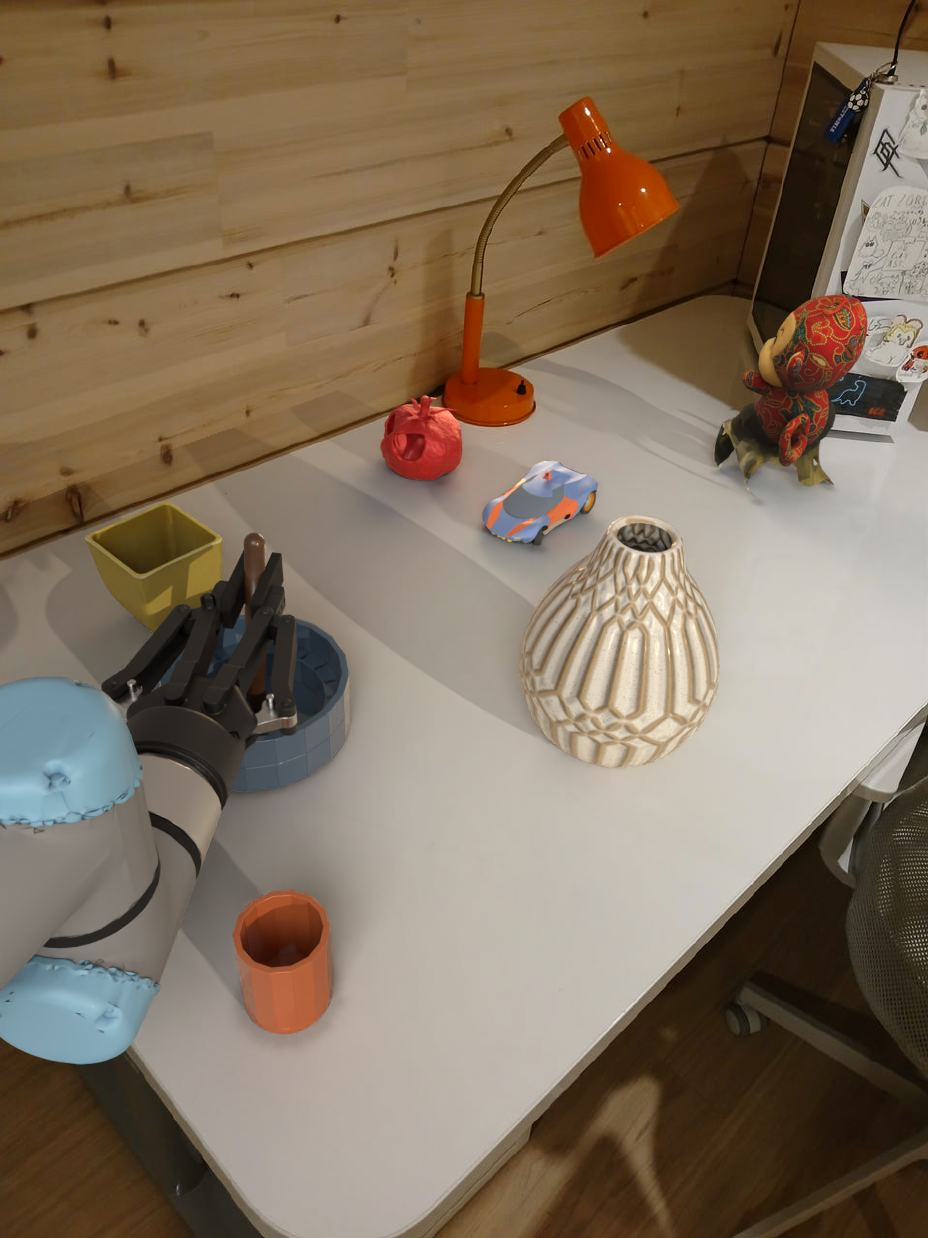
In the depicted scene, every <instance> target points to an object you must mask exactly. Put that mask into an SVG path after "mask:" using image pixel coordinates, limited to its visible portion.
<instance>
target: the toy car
mask: <svg viewBox="0 0 928 1238" xmlns="http://www.w3.org/2000/svg"><path fill="white" fill-rule="evenodd" d="M598 484H599V482H598V481H597V480H596V479H595V478H594V477H592V476H591V475H590V474H589V473H582V472H580V471H576V470H574V469H572V468H569V467H567V466H565V465H563V464H562V463H561V462H560V461H557V460H556V461H555V460H543V461H541V462H538V463H535V464H533V465H532V466H531V467H530V468H529V470H528V472H527V473H526V474H525V475H524V476H523V478H521V479H520V481H519V482H518V483H516V484H515V485H514V486H513V487H512V488H510V489H508V491H507V492H505V493H503V495H500V496H499V497H497V498H494V499H492V500H491V501H489V502H488V503H487V504H486V505H485V506H484V508H483V510H482V513H481V516H482V521H483V523H484V524H485V527H486V528H487V529H488V531H489V532H490V533H491V534H492V535H494V536H496V537H497V538H501V539H502V540H506V541H507V542H508V543H523V544H529V543H530V542H532V541H533V542H532V543H533V546H537V547H538V546H539V547H540V546H541V545H542V539H543V534H544V536H546V535H547V534H548V533H549V532H551V531H552V530H553V529H554V528H556V527H557V526H560V525H562V524H563V523H565V522H568V521H570V520H571V519H573V518H574V517H575V516H576V515H577V514H579V513H581V514H582V515H583V514H584V515H587V514H589V513H590V512H591V511H592V509H593V507H594V505H595V503H596V500H597V492H598V486H599V485H598Z"/></svg>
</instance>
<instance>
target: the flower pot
mask: <svg viewBox="0 0 928 1238" xmlns="http://www.w3.org/2000/svg"><path fill="white" fill-rule="evenodd" d="M84 539H85V542H86V545H87V547H88V549H89V552H90V554H91V556H92V559H93V562H94V564H95V567H96V569H97V571H98V573H99V576H100V578H101V580H102V582H103V584H104V586H105V587H106V589H107V591H109V593H110V594H111V596H112V597H113V598H114V599H115V600H116V602H118V603H119V604H120V605H121V607H123V608H124V609H125V610H126V611H127V612H128V613H129V614H130V615H131V616H133V618H135V619H136V620H138V621H139V622H140V623H141V624H143V625H144V626H145V627H146V628H147V629H148V630H150V631H151V632H152V633H154V632H155V631H156V630H157V628H158V627H159V626H160V625H161V624H162V622H163V621H164V620H165V619H166V618H167V616H168V615H169V614H170V613H171V611H172V610H173V609H174V608H175V607H176V606H178V605H181V604H187V605H189V606H190V607H191V609H193V608H199V607H201V602H200V597H201V595H203V594H205V593H211V592H212V590H213V588H214V586H215V584H216V583H217V582H219V581H220V580H221V581H222V573H223V536H221V535H220V534H218V533H217V532H216V531H215V530H213V529H211V527H208V526H207V525H205V524H203V522H202V521H200V520H197V519H196V518H194V517H193V516H192V515H190V514H189V513H187V512H186V511H185V510H183V509H182V508H180V507H179V506H178V505H176V504H174V503H173V502H170V501H167V500H166V501H165V500H164V501H162V502H160V503H157V504H155V505H152V506H151V507H149V508H147V509H144V510H142V511H139V512H137V513H136V514H133V515H132V516H129V517H127V518H124V519H121V520H119V521H117V522H114V523H112V524H109V525H107V526H103V527H102V528H100V529H97V530H95V531H93V532H91V533H89V534H87V535H86V536H84Z"/></svg>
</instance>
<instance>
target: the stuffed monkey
mask: <svg viewBox="0 0 928 1238" xmlns="http://www.w3.org/2000/svg"><path fill="white" fill-rule="evenodd" d="M868 324H869V323H868V314H867V310H866V309H865V307H864V305H863V303H862V302H861V300H860V299H859V298H856V297H854V296H852V295H850V294H844V293H838V294H828V295H827V294H826V295H821V296H817V297H814V298H811V299H808V300H807V301H805V302H804V303H802V304H801V305H800V306H798V307H796V308H795V310H793V311H792V312H790V313H789V315H788V316H787V317H786V319H784V321H783V323H782V324H781V325H780V327H779V329H778V330H777V333H776V336H775V337H772V338H770V339H769V338H768V339H767V341H766V342H765V343H764V344H763V346H762V348H761V350H760V353H759V357H758V370H759V371H757V370H754V369H748V370H747V371H745V372H744V373H743V374H742V377H741V381H742V384H743V385H744V387H745V388H746V389H747V390H748V391H751V392H753V393H755V394H757V395H761V397H760V398H759V399H758V400H757V401H756V402H752V403H748V404H746V405H745V406H744V407H743V408H742V409H741V410H740V411H739V413H738V414H737V415H736V416H734V417H732V418H729V419H727V420H725V421H723V422H722V423H721V426H720V428H719V431H718V434H717V436H716V438H715V441H714V443H713V449H712V450H713V453H712V455H713V463H714V466H715V467H716V468H717V469H720V468H721V467H722V466H723V465H724V464H725V463H726V462H727V460H728V459H729V458H730V456H731V455H732V454H733V453H734V452H735V455H736V458H737V462H738V464H739V468H740V472H741V475H742V479H743V482H744V485H745V487H746V489H747V491H748V492H749V493H750V494H751V495H753V496H754V497H755V498H757V497H756V496H755V494H754V493H753V492H752V491H751V490H750V489H749V487H748V485H747V484H748V482H749V480H750V478H751V477H752V476H753V475H754V474H755V472H756V471H757V470H758V469H759V468H760V467H761V466H762V465H763V464H767V463H770V464H772V465H773V466H776V467H791V465H793V467H794V468H795V470H796V473H797V480H798V482H799V483H800V484H801V485H802V486H804V487H813V486H815V485H818V484H820V483H822V482H823V481H825V482H827V483H829V484H830V485H832V486H835V484H834V482H833V481H832V480H831V478H830V477H829V476H828V475H827V473H826V472H825V471H824V469H823V468H822V465H821V461H820V446H821V441H822V440H823V439H825V438H826V437H827V436H828V434H829V432H830V431H831V429H833V428H834V424H835V421H836V414H837V411H836V408H835V405H834V404H833V402H832V401H831V400H829V395H828V389H830V388H831V387H833V386H834V385H835V384H836V383H838V382H839V381H841V380H842V379H843V378H844V377H845V376H846V375H847V374H848V373H849V372H850V371H851V370H852V369H853V368H854V366H855V364H857V362H858V360H859V359H860V357H861V355H862V352H863V350H864V347H865V343H866V341H867V340H866V339H867V334H868ZM814 461H815V462H816V464H815V462H814Z"/></svg>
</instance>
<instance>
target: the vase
mask: <svg viewBox="0 0 928 1238" xmlns="http://www.w3.org/2000/svg"><path fill="white" fill-rule="evenodd" d="M685 555H686V554H685V547H684V541H683V537H682V535H681V533H680V532H679V530H678V529H677V528H676V527H674V526H673V525H672V524H671V523H669V522H667V521H665V520H664V519H663V520H662V519H661V518H658V517H655V516H649V515H643V514H642V515H641V514H633V515H631V514H630V515H627V516H622V517H619V518H617V519H615V520H614V521H613V522H611V523H610V525H609V526H608V527H607V529H606V531H605V532H604V533H603V536H602V537H601V539H600V541H599V542H598V543H597V545H596V547H595V548H594V549H593V550H592V551H591V552H589V553H588V554H586V555H585V556H584V557H582V558H581V559H579V560H578V561H576V562H575V563H574V564H573V565H572V566H570V567H569V568H568V569H567V570H566V571H564V573H562V574H561V575H560V576H559V577H558V578H557V579H556V580H555V581H554V582H553V583H552V584H551V585H550V586H549V588H548V589H547V590H546V592H545V593H544V595H543V596H542V597H541V599H540V601H539V602H538V604H537V606H536V607H535V609H534V611H533V613H532V615H531V617H530V618H529V620H528V622H527V625H526V627H525V630H524V633H523V636H522V639H521V642H520V643H521V644H520V649H519V660H518V661H519V663H518V665H519V667H518V668H519V681H520V687H521V692H522V695H523V698H524V702H525V705H526V706H527V709H528V710H529V713H530V715H531V717H532V718H533V719H532V720H533V721H534V722H535V724H536V725H537V727H538V728H539V729H540V730H541V732H542V734H543V735H544V736H545V737H546V738H547V739H548V740H549V741H550V742H551V743H552V744H554V745H555V746H556V747H557V748H558V749H561V751H563V752H565V753H566V754H568V755H570V756H571V757H574V758H575V759H577V760H579V761H581V762H585V763H588V764H591V765H595V766H599V767H604V768H613V769H614V768H615V769H624V768H633V767H640V766H646V765H648V764H652V763H654V762H657V761H659V760H662V759H663V758H665V757H667V756H669V755H670V754H672V753H673V752H675V751H677V750H678V749H679V748H680V747H681V746H682V745H684V744H685V743H686V742H688V740H689V739H690V738H691V737H692V736H693V735H694V734H695V733H696V732H697V731H698V729H699V728H700V727H701V725H702V724H703V722H704V721H705V719H706V717H707V715H708V714H709V711H710V710H711V708H712V706H713V703H714V700H715V697H716V695H717V692H718V688H719V681H720V674H721V655H720V643H719V637H718V632H717V627H716V622H715V620H714V617H713V614H712V612H711V609H710V606H709V605H708V602H707V599H706V598H705V596H704V594H703V592H702V590H701V588H700V586H699V584H698V583H697V581H696V580H695V578H694V577H693V575H692V574H691V573H690V570H689V569H688V566H687V565H688V564H687V562H686V556H685Z"/></svg>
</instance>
